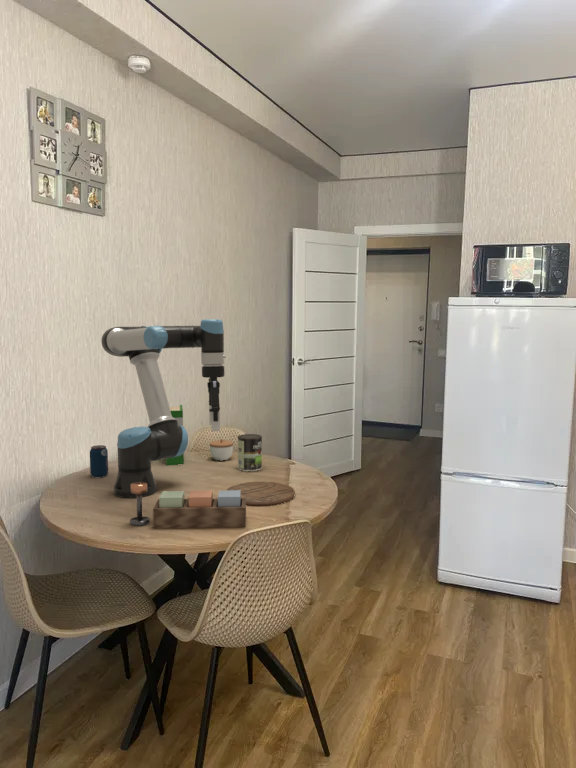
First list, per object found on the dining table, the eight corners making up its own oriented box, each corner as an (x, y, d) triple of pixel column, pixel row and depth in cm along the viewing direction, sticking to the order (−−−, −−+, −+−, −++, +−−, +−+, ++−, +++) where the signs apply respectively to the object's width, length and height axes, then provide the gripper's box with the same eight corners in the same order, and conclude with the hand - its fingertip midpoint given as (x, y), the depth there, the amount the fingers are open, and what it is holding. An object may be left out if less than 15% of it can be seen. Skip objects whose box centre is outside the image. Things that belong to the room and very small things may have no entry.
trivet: (309, 497, 208) (309, 491, 207) (256, 512, 191) (256, 506, 190) (264, 482, 226) (264, 477, 226) (212, 495, 209) (212, 490, 209)
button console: (153, 528, 174) (152, 509, 174) (158, 517, 184) (158, 499, 184) (245, 526, 176) (245, 507, 175) (246, 515, 186) (245, 497, 185)
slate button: (218, 509, 177) (217, 497, 176) (219, 502, 183) (219, 490, 183) (240, 509, 177) (240, 496, 177) (240, 502, 184) (240, 490, 183)
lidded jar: (232, 462, 256) (232, 441, 255) (208, 462, 256) (208, 441, 255) (234, 456, 267) (234, 436, 266) (211, 456, 267) (211, 436, 266)
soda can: (111, 475, 233) (110, 446, 232) (95, 479, 228) (94, 449, 227) (103, 472, 238) (102, 444, 237) (87, 475, 233) (86, 446, 232)
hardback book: (166, 456, 267) (165, 405, 265) (182, 455, 269) (182, 404, 266) (166, 465, 250) (165, 411, 248) (183, 464, 252) (182, 410, 249)
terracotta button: (188, 510, 176) (188, 497, 176) (191, 503, 183) (191, 490, 182) (211, 509, 177) (211, 497, 176) (212, 502, 183) (212, 490, 183)
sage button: (159, 510, 176) (159, 497, 175) (163, 503, 182) (162, 491, 182) (181, 510, 176) (181, 497, 176) (184, 503, 183) (184, 491, 182)
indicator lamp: (128, 526, 176) (127, 487, 175) (132, 519, 182) (131, 481, 181) (147, 526, 176) (147, 486, 175) (151, 519, 182) (150, 481, 181)
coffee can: (266, 467, 248) (266, 435, 246) (253, 472, 239) (253, 439, 237) (246, 464, 253) (246, 433, 251) (233, 469, 244) (233, 437, 242)
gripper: (227, 367, 182) (228, 433, 183) (221, 363, 206) (223, 421, 208) (203, 367, 180) (204, 434, 182) (200, 363, 205) (202, 422, 207)
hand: (214, 427), depth 195 cm, fingers open, 13 cm apart
